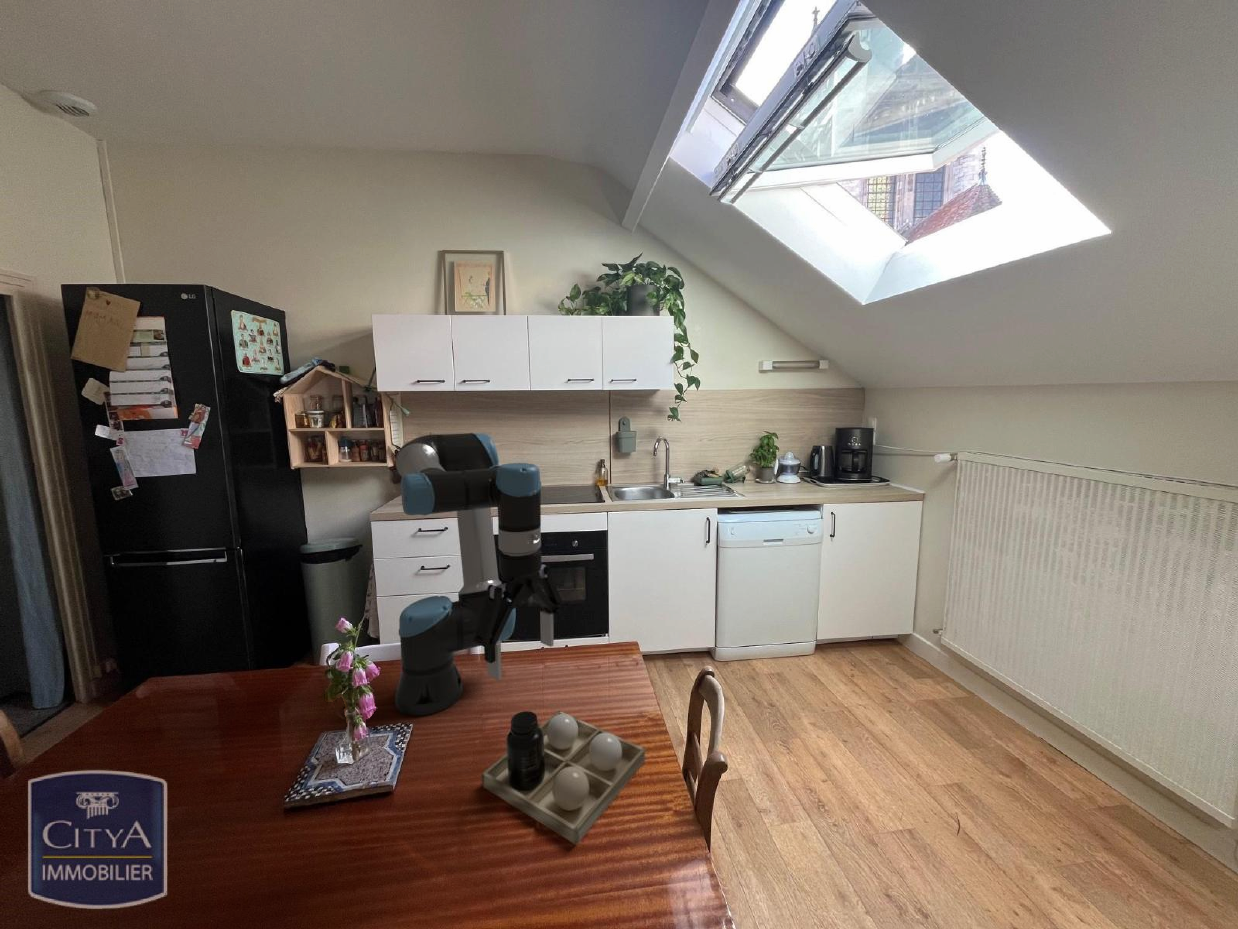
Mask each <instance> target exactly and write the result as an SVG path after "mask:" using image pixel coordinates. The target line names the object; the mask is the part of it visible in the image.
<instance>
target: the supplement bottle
mask: <svg viewBox="0 0 1238 929" xmlns="http://www.w3.org/2000/svg"><path fill="white" fill-rule="evenodd" d="M505 740H506V741H505V742H506V744H505V745H506V754H507V764H508V779H509V783H510V785H511V786H512V787H513V788H514V789H516V790H520V791H527V790H531V789H534V788H536V787H537V786H538V785H540V784H541V782H542V781H543V779H544V777H545V755H544V735H543V731H542V730H541V728H540V726H539V723H538V715H537V714H536V713H535V712H533V711H528V710H525V711H519V712H518V713H515V714H514V715H513V716H512V718H511V720H510V731H509V732H508V734H507V736H506V739H505Z"/></svg>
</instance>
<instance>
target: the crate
mask: <svg viewBox="0 0 1238 929" xmlns="http://www.w3.org/2000/svg"><path fill="white" fill-rule="evenodd" d="M559 714H567V713H565V712H563V711H561V710H558V711H557V712H556V713H554V714H553V715H552V716H550V717H549V718H548V719H547V720H545V721H544V722H543V723H542V724H540V726H539V727H540V728H541V730H542V731H543V735H544V755H545V777H544V779H543V781H542V782H541V784H540V785H538V786H537V787H536V788H534V789H531V790H527V791H520V790H516V789H514V788H513V787H512V786H511V785H510V783H509V779H508V764H507V753H505V754H504V755H502V756H501V757H500V758H499V759H498V760H497V761H495V762H494V763H493V764H492V765H490V766H489V767H488V768H487V769H486V770H485V771H483V772H482V773H481V784H482V785H481V786H482V787H483V788H484V789H486V790H487V791H489V792H490V793H492V794H494V795H495V796H497V797H498V798H500V799H502V800H504V802H506V803H508V804H510V805H512V806H513V807H515V808H516V809H517V810H520V811H521V812H522V813H523V814H526V815H527V816H528V817H531V818H532V819H533V820H535V821H536V822H539V823H541V824H542V825H543V826H545V827H547V828H548V829H549V830H552V831H553V832H555V833H556V834H558V835H560V836H561V837H563V839H566V840H568V841H569V842H571V843H572V844H574V845H575V846H578V844H579V843H580V841H581V840H582V839H584V837H585V836H586V834H587V833H588V832H589V831H590V829H591V828H592V827H593V826H594V824H595V823H596V822H597V821H598V819H599V818H600V817H601V816H602V815H603V813H604V812H605V811H606V810H607V808H608V807H609V806H610V805H611V804H612V802H613V801H614V800H615V799H616V798H617V797H618V795H619V794H620V792H622V790H623V789H624V787H625V786H626V785H627V784H628V782H630V780H631V779H632V778H633V777H634V775H635V774H636V773H637V772H638V771H639V769H640V768H641V767H642V766H643V764H644V763H645V762H646V748H644V747H642V746H640V745H637V744H635V743H634V742H633V743H632V742H631V741H629V740H627V739H624V738H622V737H620V736H617V735H616V734H613V735H614V736H616V737H617V739H618V740H619V742H620V744H621V747H622V757H621V760H620V762H619V764H618V765H617V766H616V767H615V768H614V769H612V770H610V771H600V770H598V769H596V768H595V767H594V766H593V765H592V763H591V761H590V758H589V746H590V744H591V742H592V740H593V739H594V738H595V737H596V736H597V735H599V734H601V733H610V734H612V733H611V732H608V731H607V730H604V729H601V728H599V727H597V726H594V725H592V724H590V723H589V722H586V721H583V720H581V719H579V718H577V717H575V716H572V717H573V718H574V719H575V721H576V722H577V725H578V736H577V739H576V741H575V743H574V744H573V745H572V746H571V747H569V748H567V749H563V750H560V749H556V748H554V747H553V746H552V745H551V744H550V743H549V741H548V738H547V727H548V724H549V722H550V721H551V719H552V718H554V717H555V716H556V715H559ZM566 767H577V768H579V769H581V770H582V771H583V772H584V773H585V775H586V776H587V778H588V782H589V793H588V797H587V799H586V801H585V802H584V804H583V805H582V806H581V807H579V808H578V809H576V810H573V811H567V810H564V809H562V808H560V807H559V806H558V805H557V804H556V802H555V800H554V798H553V794H552V786H553V782H554V779H555V777H556V775H557V774H558V773H559V772H560V771H561V770H562V769H564V768H566Z"/></svg>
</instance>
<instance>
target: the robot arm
mask: <svg viewBox="0 0 1238 929" xmlns="http://www.w3.org/2000/svg"><path fill="white" fill-rule="evenodd" d="M499 460H500V459H499V455H498V450H497V447H496V445H495V442H494V440H493V439H492V437H491V436H490V435H489V434H487V433H477V432H476V433H474V432H470V433H469V432H468V433H446V434H445V433H444V434H443V433H442V434H436V433H434V434H426V435H421V436H419V437H416V438H414V439H412V440H410V441H408V442H406V443H405V444H403V445H402V446H401V447H400V448H399V450H398V452H397V454H396V456H395V468H396V470H397V473H398V474H399V475H400V476H401V479H400V493H401V504H402V509H403V510H402V512H403V513H404V514H406V515H407V516H417V515H418V516H419V515H421V516H428V515H434V514H442V513H451V512H456V518H457V519H456V520H457V530H458V539H459V550H460V559H461V561H460V562H461V569H462V581H463V585H462V587H461V589H460V590H459V591H458V593H457V596H458V600H456V601H452V600H451V599H450V597H448V596H445V595H440V596H439V595H432V596H429V597H428V596H427V597H424V598H422V599H418V600H416V601H414V602H412V603H411V604H409V605H407V606H406V607H405V608H404V609H403V610H402V612H401V613H400V615H399V620H398V622H399V628H398V636H399V640H400V661H401V662H400V663H401V664H400V665H401V671H400V672H401V673H400V677H399V681H398V683H397V687H396V691H395V692H394V693H395V696H394V697H395V698H394V701H395V707H396V709H397V710H398V711H399V712H401V713H402V714H404V715H409V716H426V715H432V714H435V713H438V712H441V711H444V710H446V709H448V708H449V707H451V706H453V705H455V704H456V702H457V701H459V700H460V698H461V696H462V695H463V690H464V687H463V679H462V676H461V674H460V672H459V670H458V667H457V666H456V663H455V661H454V659H455V658H454V653H455V652H460V651H464V650H469V649H473V648H477V647H478V648H479V647H483V653H484V655H483V656H484V662H486V664H487V665H486V666H487V669H486V670H487V676H489V677H491V678H493V679H495V680H497V681H500V680H501V679H502V677H503V676H502V645H501V644H502V643H500V642H502V641H507V640H508V639H509V638H511V636H512V634H513V633H514V630H515V626H516V625H515V623H516V608H517V606H518V604H519V603H522V602H524V601H525V600H527V599H530V598H533V599H534V601H535V602H537V604H538V605H539V606H540V607H541V608H542V609H543V610H542V611H539V612H540V614H539V616H540V617H539V619H540V621H539V623H540V625H539V626H540V643H541V644H543V645H545V646H547V647H550V648H551V647H553V646H554V643H555V642H554V641H555V640H554V627H555V624H556V623H555V620H556V618H555V617H556V616H555V614H559V613H560V607H561V606H562V605H563V599H562V597H561V595H560V592H559V590H558V588H557V586H556V584H555V583H556V582H555V581H554V579H553V576H552V568H551V566H549V565H545V564H543V562H542V550H541V547H542V541H541V540H542V538H541V537H542V529H541V528H542V527H541V526H542V523H541V522H542V520H541V519H542V518H541V517H542V512H541V511H542V509H541V508H542V507H541V506H542V505H541V504H542V503H541V502H542V499H541V496H542V494H541V493H542V492H541V489H542V481H541V473H540V472H541V471H540V468H539V467H538V466H537V465H536V464H534V463H528V462H511V463H510V462H509V463H504V464H501V465H500V464H499V463H500V461H499ZM492 508H497V521H498V524H497V527H498V528H497V533H498V536H497V538H498V542H497V543H498V549H499V552H498V561H497V552H496V544H495V535H494V528H493V527H494V526H493V525H494V524H493V518H492V517H493V516H492ZM497 562H498V563H497ZM498 566H499V568H498ZM498 570H499V571H498ZM498 572H500V574H501V577H502V579H501V581H500V579H499V573H498ZM538 582H540V584H541V586H539V584H538ZM543 591H544V592H543Z"/></svg>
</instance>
